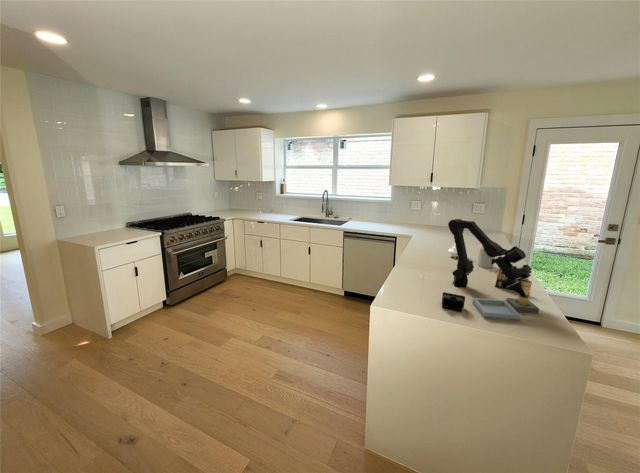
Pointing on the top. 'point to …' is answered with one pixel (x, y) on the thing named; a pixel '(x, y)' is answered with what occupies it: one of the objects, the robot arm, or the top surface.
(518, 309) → the block
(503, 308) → the parts tray
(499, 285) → the ammunition clip
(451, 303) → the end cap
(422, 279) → the top surface
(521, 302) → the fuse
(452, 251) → the mechanical part
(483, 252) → the jar
